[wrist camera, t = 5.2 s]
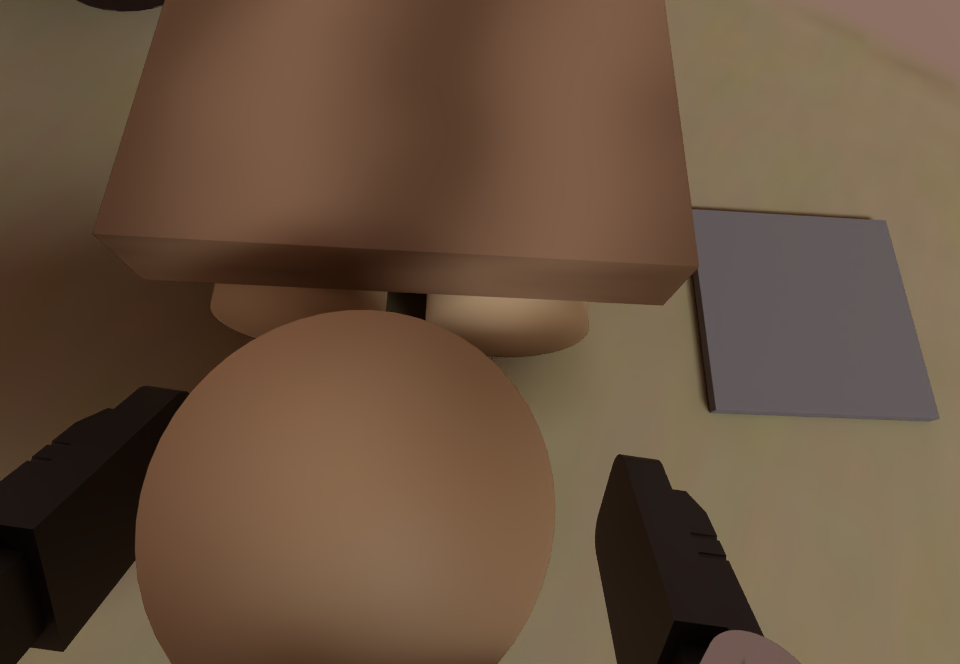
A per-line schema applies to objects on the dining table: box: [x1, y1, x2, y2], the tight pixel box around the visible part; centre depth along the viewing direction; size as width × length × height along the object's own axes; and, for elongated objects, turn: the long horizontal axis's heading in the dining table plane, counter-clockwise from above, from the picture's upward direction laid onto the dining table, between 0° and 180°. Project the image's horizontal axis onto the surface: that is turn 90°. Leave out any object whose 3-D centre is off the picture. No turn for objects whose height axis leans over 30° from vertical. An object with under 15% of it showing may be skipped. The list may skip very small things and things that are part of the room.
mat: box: [692, 209, 940, 421], centre depth 18 cm, size 7×7×1 cm
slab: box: [92, 0, 699, 357], centre depth 16 cm, size 12×10×6 cm
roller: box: [135, 310, 555, 664], centre depth 11 cm, size 4×4×10 cm
